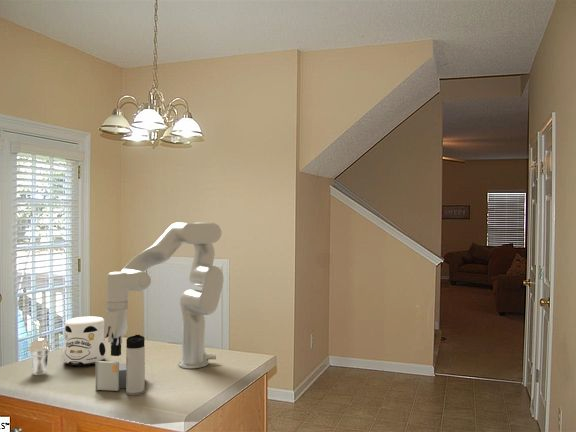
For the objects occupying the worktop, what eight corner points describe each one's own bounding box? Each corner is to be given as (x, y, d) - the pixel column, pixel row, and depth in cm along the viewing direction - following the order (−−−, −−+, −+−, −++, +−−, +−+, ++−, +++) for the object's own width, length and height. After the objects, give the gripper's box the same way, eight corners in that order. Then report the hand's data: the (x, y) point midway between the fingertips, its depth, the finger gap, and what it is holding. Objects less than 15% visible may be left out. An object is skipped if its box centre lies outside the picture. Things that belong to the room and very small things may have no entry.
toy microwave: (144, 379, 193) (144, 360, 193) (143, 387, 184) (143, 367, 184) (100, 382, 190) (100, 362, 189) (97, 390, 181) (97, 370, 181)
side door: (119, 390, 180) (119, 361, 180) (117, 392, 179) (117, 363, 179) (96, 389, 182) (96, 360, 181) (94, 390, 180) (94, 361, 180)
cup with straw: (28, 377, 194) (28, 326, 193) (27, 371, 201) (27, 321, 201) (52, 374, 198) (53, 323, 198) (50, 368, 206) (50, 319, 205)
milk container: (66, 371, 202) (66, 326, 201) (59, 360, 216) (59, 318, 216) (111, 364, 211) (111, 321, 211) (101, 354, 226) (101, 314, 225)
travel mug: (146, 389, 183) (146, 334, 182) (141, 396, 176) (142, 339, 176) (129, 389, 182) (129, 334, 182) (123, 396, 176) (124, 339, 175)
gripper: (116, 301, 193) (115, 349, 193) (97, 308, 178) (96, 360, 178) (135, 302, 192) (134, 350, 192) (117, 309, 177) (116, 361, 177)
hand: (115, 355), depth 185 cm, fingers closed
